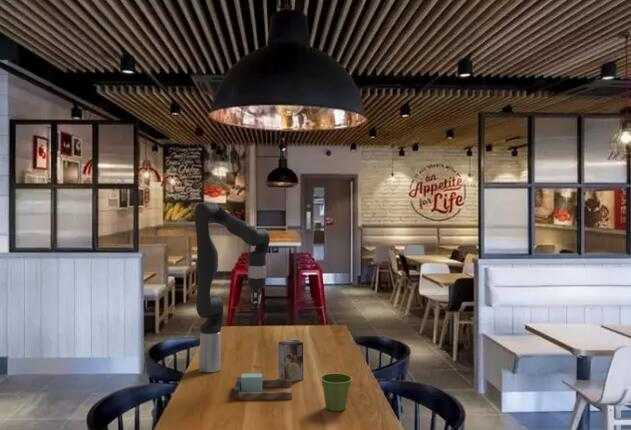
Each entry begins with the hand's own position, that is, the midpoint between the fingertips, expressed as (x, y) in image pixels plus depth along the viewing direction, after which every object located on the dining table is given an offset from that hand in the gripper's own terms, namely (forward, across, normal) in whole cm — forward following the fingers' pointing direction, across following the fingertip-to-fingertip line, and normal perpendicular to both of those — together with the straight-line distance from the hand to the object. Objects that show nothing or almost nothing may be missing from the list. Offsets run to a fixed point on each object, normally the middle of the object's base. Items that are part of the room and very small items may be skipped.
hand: (256, 314), depth 241 cm
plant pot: (+27, +34, +32) cm, 54 cm away
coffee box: (+28, -2, +15) cm, 32 cm away
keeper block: (+28, +16, 0) cm, 32 cm away
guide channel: (+28, +16, +5) cm, 32 cm away
